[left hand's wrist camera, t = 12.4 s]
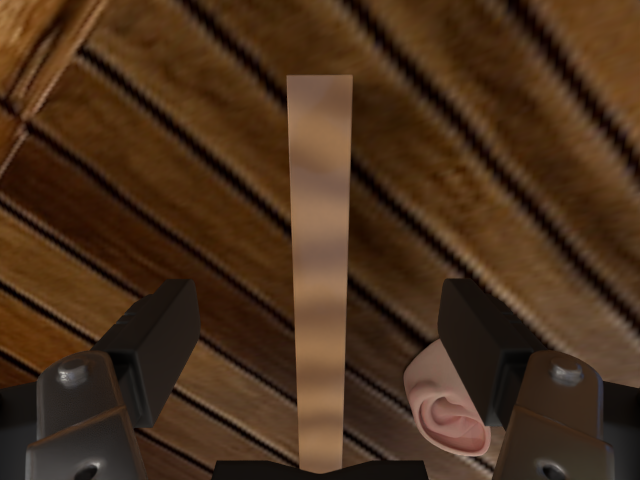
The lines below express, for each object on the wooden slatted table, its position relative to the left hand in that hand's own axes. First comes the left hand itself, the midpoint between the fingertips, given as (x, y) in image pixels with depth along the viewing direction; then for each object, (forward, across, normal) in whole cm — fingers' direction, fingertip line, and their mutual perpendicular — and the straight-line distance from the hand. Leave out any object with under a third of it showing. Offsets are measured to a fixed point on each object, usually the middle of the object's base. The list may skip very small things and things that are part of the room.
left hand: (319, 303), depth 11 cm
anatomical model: (+22, +15, -24) cm, 36 cm away
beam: (+22, 0, -18) cm, 28 cm away
